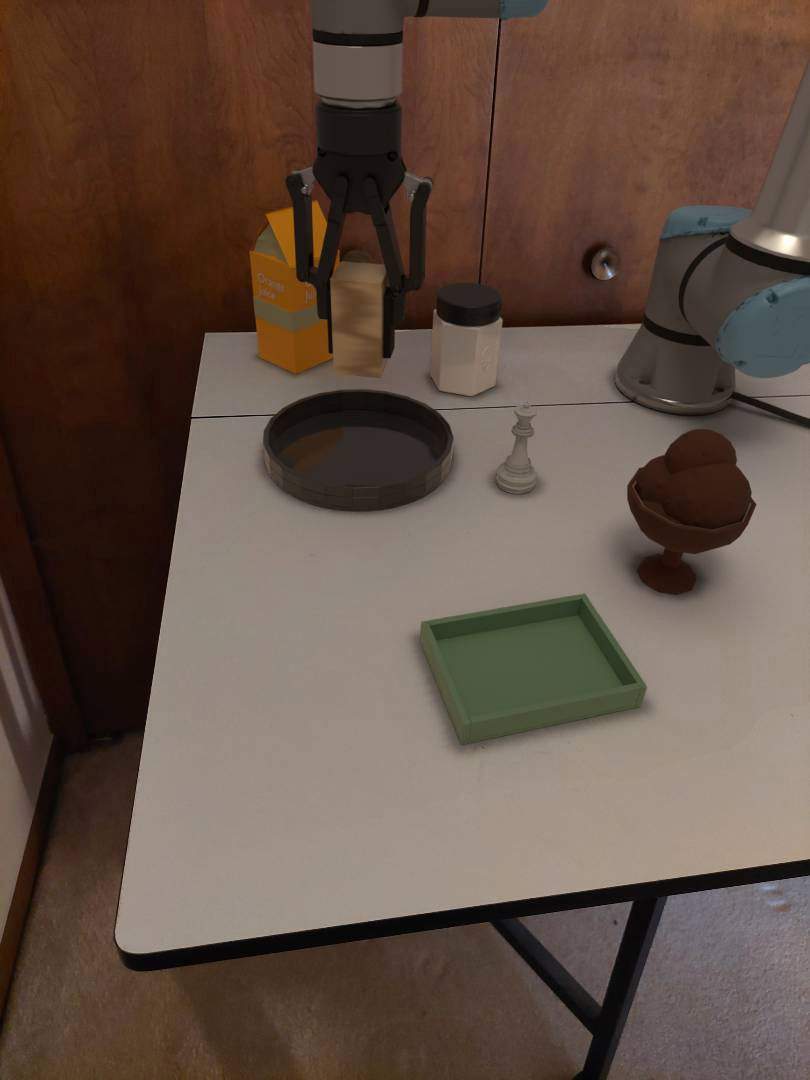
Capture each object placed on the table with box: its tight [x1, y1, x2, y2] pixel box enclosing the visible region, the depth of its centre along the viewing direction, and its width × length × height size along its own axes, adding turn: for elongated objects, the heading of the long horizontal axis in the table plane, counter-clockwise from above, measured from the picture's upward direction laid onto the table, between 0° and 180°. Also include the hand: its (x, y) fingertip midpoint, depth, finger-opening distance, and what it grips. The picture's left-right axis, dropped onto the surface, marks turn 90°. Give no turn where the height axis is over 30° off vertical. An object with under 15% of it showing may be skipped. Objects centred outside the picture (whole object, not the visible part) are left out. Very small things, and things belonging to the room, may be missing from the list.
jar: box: [429, 282, 504, 397], centre depth 103 cm, size 9×8×12 cm
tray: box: [419, 592, 648, 746], centre depth 66 cm, size 15×11×2 cm
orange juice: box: [249, 199, 341, 375], centre depth 105 cm, size 8×9×20 cm
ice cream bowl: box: [626, 428, 758, 596], centre depth 72 cm, size 11×11×15 cm
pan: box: [262, 388, 455, 512], centre depth 91 cm, size 21×21×3 cm
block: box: [330, 260, 390, 379], centre depth 81 cm, size 5×5×10 cm
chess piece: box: [495, 401, 538, 495], centre depth 85 cm, size 4×4×10 cm
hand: (361, 349), depth 83 cm, fingers closed on block, 5 cm apart
